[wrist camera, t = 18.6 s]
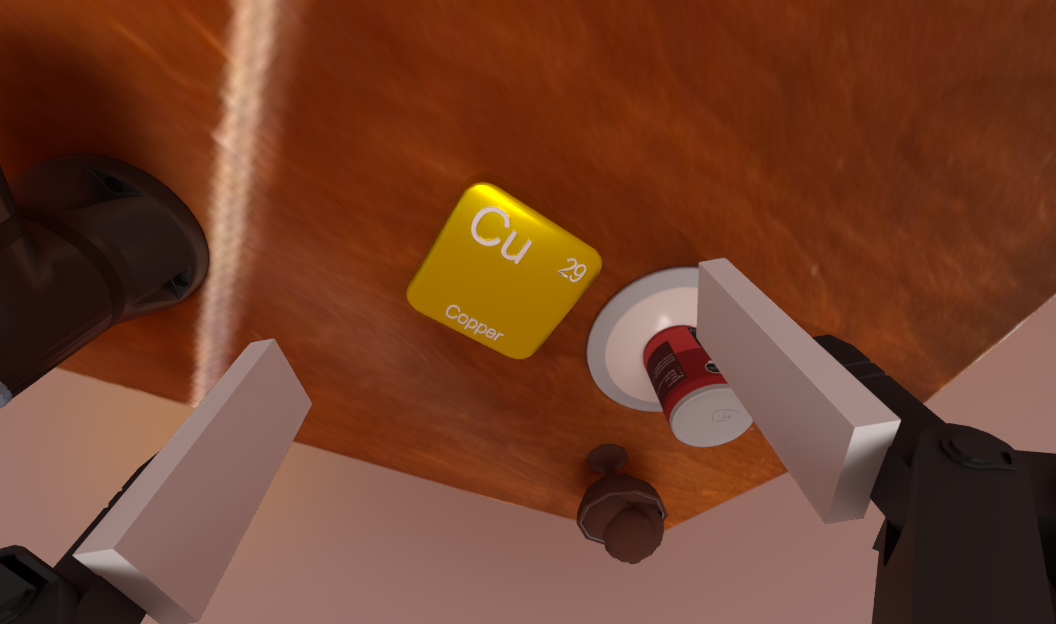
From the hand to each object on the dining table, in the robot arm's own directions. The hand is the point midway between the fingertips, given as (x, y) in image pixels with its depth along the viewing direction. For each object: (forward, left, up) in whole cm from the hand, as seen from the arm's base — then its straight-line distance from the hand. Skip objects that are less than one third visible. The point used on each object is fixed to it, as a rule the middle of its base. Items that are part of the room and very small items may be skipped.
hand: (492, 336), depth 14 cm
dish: (+15, -25, -30) cm, 42 cm away
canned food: (+15, -25, -29) cm, 41 cm away
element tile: (-2, -11, -31) cm, 33 cm away
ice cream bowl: (+5, -43, -31) cm, 53 cm away
